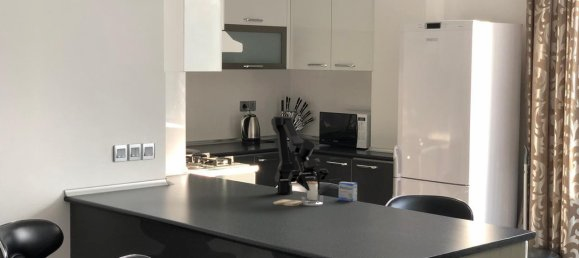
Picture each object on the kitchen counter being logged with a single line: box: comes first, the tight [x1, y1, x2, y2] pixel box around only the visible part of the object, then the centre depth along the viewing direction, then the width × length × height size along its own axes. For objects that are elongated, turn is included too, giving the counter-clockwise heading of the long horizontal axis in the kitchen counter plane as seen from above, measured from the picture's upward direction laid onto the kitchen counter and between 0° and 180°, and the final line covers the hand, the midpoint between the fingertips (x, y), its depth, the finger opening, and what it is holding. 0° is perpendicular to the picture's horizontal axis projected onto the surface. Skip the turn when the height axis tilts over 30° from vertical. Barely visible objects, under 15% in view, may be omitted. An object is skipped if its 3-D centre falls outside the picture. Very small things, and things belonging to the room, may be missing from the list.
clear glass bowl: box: [301, 195, 324, 207], centre depth 374 cm, size 10×10×4 cm
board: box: [273, 198, 302, 207], centre depth 375 cm, size 11×9×1 cm
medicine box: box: [338, 181, 358, 202], centre depth 385 cm, size 8×4×9 cm, turn 62°
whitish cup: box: [306, 180, 319, 201], centre depth 374 cm, size 5×5×8 cm
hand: (313, 189), depth 372 cm, fingers closed on whitish cup, 5 cm apart
